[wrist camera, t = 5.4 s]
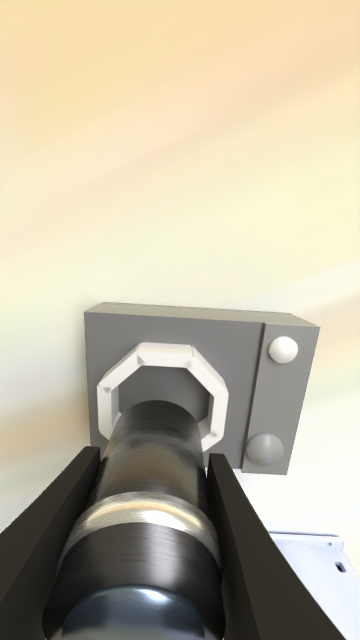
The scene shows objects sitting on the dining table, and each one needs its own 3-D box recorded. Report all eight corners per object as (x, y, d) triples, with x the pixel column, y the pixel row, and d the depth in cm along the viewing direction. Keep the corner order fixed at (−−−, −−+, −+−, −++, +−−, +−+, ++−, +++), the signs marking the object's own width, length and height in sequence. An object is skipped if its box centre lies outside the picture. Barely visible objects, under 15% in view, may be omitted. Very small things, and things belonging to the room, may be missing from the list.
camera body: (288, 313, 16) (334, 333, 11) (266, 434, 19) (295, 492, 14) (104, 302, 16) (71, 317, 11) (107, 425, 19) (82, 480, 14)
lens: (211, 406, 11) (254, 586, 5) (192, 479, 12) (207, 696, 6) (116, 391, 10) (35, 562, 4) (106, 467, 12) (31, 683, 6)
